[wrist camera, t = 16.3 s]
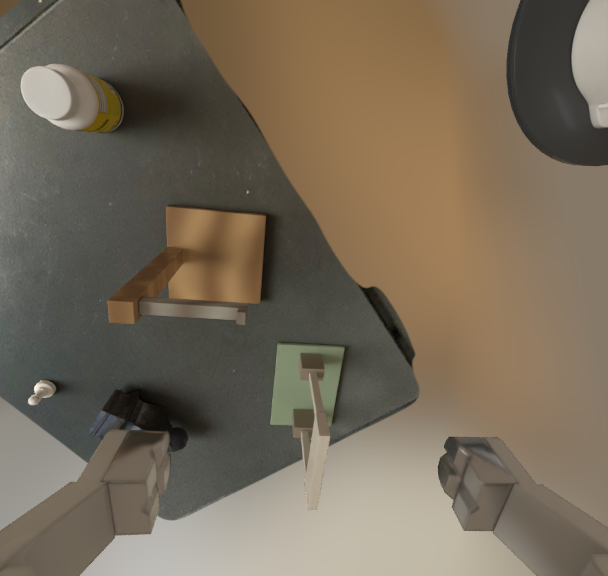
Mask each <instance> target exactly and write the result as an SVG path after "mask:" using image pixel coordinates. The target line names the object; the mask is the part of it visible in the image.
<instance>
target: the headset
mask: <svg viewBox="0 0 608 576" xmlns="http://www.w3.org/2000/svg"><path fill="white" fill-rule="evenodd" d="M324 371H325V369H324V364H323V360H322V356H321V354H312V353H300V356H299V372H300V380H304V381H309V382H310V388H311V395H312V401H313V407H314V413H315V419H314V415H313V410H307V409H293V413H292V429H293V438H301V443H302V453H303V462H304V473H305V491H306V501H307V509H308V510H317V507H318V502H319V496H320V491H321V485H322V479H323V474H324V468H325V462H326V457H327V451H328V446H329V440H330V433H329V428H328V423H327V418H326V413H324V408H323V403H322V398H321V393H320V388H319V383H318V381H323V378H324ZM309 438H312V439H311V445H310V443H309Z"/></svg>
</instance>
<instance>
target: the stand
mask: <svg viewBox="0 0 608 576" xmlns="http://www.w3.org/2000/svg"><path fill="white" fill-rule="evenodd" d="M166 223H167V248H166V249H165V250H163V251H162V252H161V253H160V254H159V255H158V256H157V257H156V258H154V259H153V260H152V261H151V262H150V263H149V264H148V265H147V266H146V267H144V268H143V269H142V270H141V271H140V272H139V273H138V274H137V275H135V276H134V277H133V278H132V279H131V280H130V281H129V282H128V283H126V284H125V285H124V286H123V287H122V288H121V289H120V290H119V291H118V292H116V293H115V294H114V295H113V296H112V297H111V298H110V299H109V300H108V301H107V302H108V312H109V321H110V323H128V324H135V323H136V322H137V320H138V319H139V318H140V317H141V316H142V314H143V315H160V316H177V317H194V318H211V319H228V320H236V324H242V325H245V324H246V319H247V308H248V303H255V304H260V298H261V284H262V269H263V255H264V240H265V226H266V214H257V213H246V212H236V211H226V210H215V209H205V208H194V207H184V206H173V205H168V206H166ZM168 282H169V298H160V297H157V296H158V294H159V293H160V292H161V291H162V289H163V288H164V287H165V286H166V285H167V283H168ZM175 298H178V299H175ZM191 299H193V300H191ZM206 300H208V301H206ZM222 301H224V302H222ZM237 302H239V303H237Z"/></svg>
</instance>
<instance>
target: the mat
mask: <svg viewBox="0 0 608 576" xmlns="http://www.w3.org/2000/svg"><path fill="white" fill-rule="evenodd" d="M344 349H345V347H344V346H338V345H319V344H300V343H281V342H278V347H277V358H276V369H275V379H274V390H273V401H272V411H271V422H270V424H271V425H292V413H293V409H307V410H313V415H314V419H315V413H314V407H313V401H312V395H311V388H310V382H309V381H304V380H300V372H299V356H300V353H312V354H321V356H322V360H323V364H324V369H325V371H324V378H323V381H318V383H319V388H320V393H321V398H322V403H323V408H324V413H326V418H327V423H328V426H331V423H332V418H333V412H334V406H335V401H336V395H337V389H338V383H339V378H340V372H341V366H342V361H343V355H344Z"/></svg>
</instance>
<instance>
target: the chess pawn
mask: <svg viewBox="0 0 608 576" xmlns="http://www.w3.org/2000/svg"><path fill="white" fill-rule="evenodd" d="M34 391H35V395H32V396H31V397H30V398H29V400H28V403H29V404H30V405H36V404H38V403H39V402H40V401H41V398H42V397H43V398H47V397H50V396H52V395H53V394H54V392H55V391H56V386H55V385H54V384H53V383H52V382H50V381H47V380H42V381H40V382H38V383H37V384H36V385H35V387H34Z"/></svg>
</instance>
